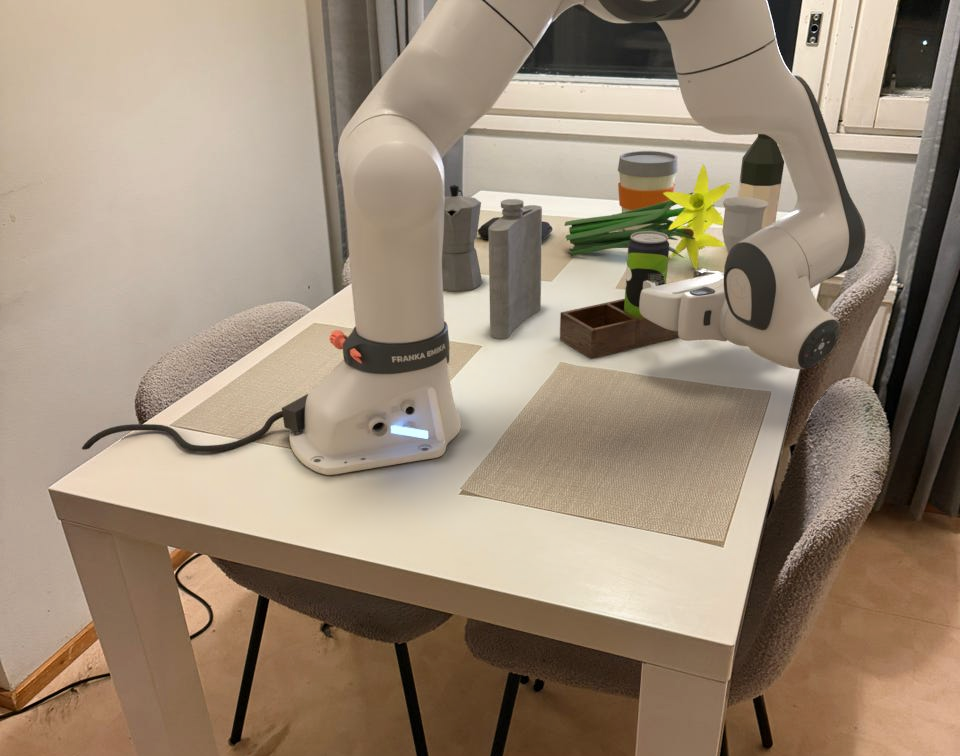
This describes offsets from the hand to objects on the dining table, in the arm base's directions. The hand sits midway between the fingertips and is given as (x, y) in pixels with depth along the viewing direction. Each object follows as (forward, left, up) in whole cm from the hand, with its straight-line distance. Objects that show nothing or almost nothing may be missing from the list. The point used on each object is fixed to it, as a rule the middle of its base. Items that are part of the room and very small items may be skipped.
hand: (672, 279), depth 135 cm
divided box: (-4, +7, -11) cm, 13 cm away
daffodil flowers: (+22, +37, -11) cm, 44 cm away
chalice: (+20, +8, -11) cm, 24 cm away
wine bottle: (+49, +35, -11) cm, 61 cm away
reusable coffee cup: (+37, +56, -11) cm, 68 cm away
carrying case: (+10, +65, -11) cm, 66 cm away
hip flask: (-15, +22, -11) cm, 29 cm away
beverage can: (0, +6, -10) cm, 12 cm away
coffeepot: (-14, +45, -11) cm, 48 cm away
